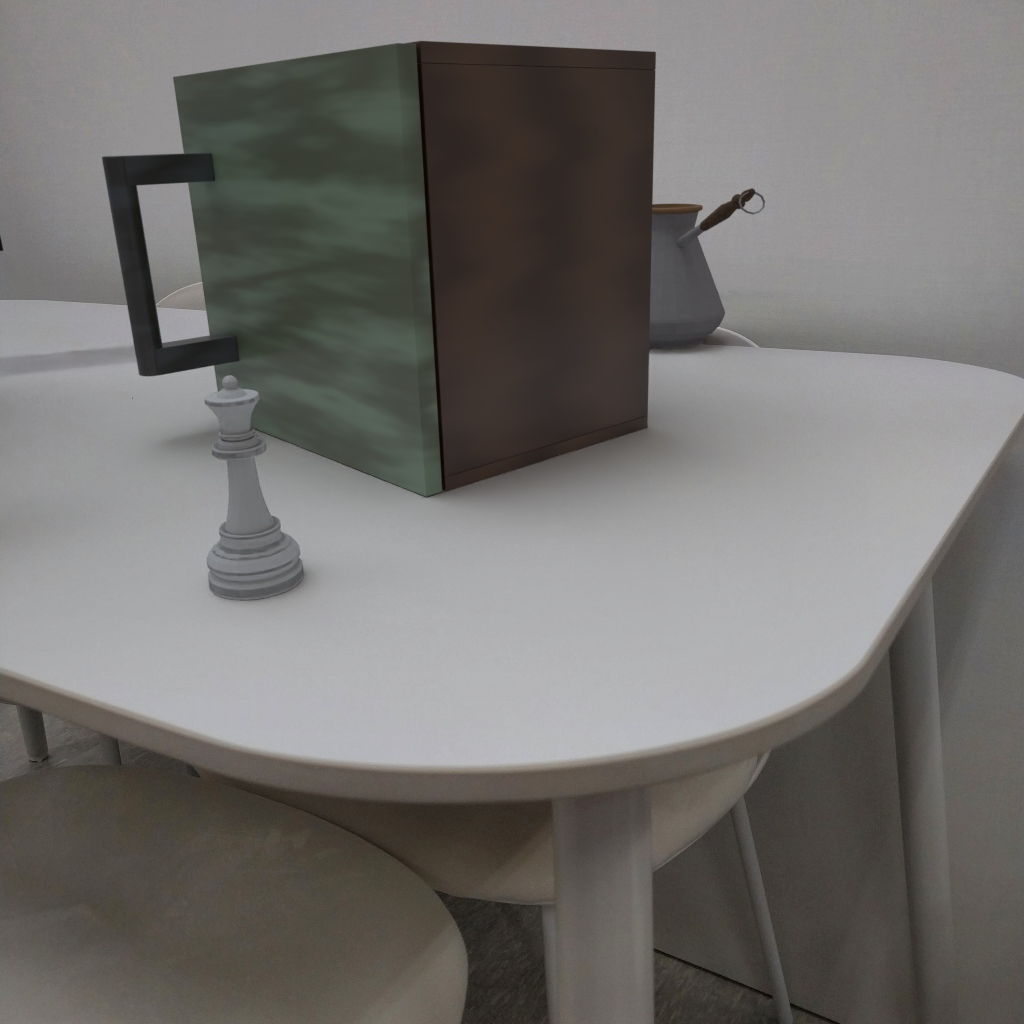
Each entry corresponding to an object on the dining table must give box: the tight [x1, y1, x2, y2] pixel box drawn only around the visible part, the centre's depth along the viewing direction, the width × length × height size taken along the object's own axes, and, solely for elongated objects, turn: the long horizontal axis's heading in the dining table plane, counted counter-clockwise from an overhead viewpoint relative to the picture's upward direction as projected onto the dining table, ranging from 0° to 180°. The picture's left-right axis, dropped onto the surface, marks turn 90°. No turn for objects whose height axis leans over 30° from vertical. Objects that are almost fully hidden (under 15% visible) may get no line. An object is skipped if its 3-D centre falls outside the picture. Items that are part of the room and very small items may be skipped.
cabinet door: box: [101, 42, 443, 497], centre depth 59 cm, size 8×26×24 cm, turn 42°
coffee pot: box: [649, 188, 766, 350], centre depth 89 cm, size 21×12×15 cm, turn 17°
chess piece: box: [204, 375, 305, 601], centre depth 44 cm, size 4×4×10 cm
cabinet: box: [406, 40, 657, 493], centre depth 67 cm, size 18×26×24 cm
